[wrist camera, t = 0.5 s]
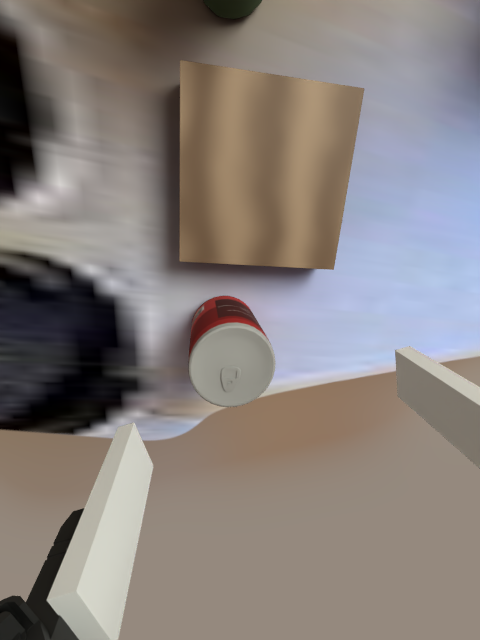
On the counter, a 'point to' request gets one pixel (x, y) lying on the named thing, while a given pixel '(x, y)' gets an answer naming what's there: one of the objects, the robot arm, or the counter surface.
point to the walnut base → (263, 166)
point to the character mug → (232, 7)
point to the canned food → (229, 353)
